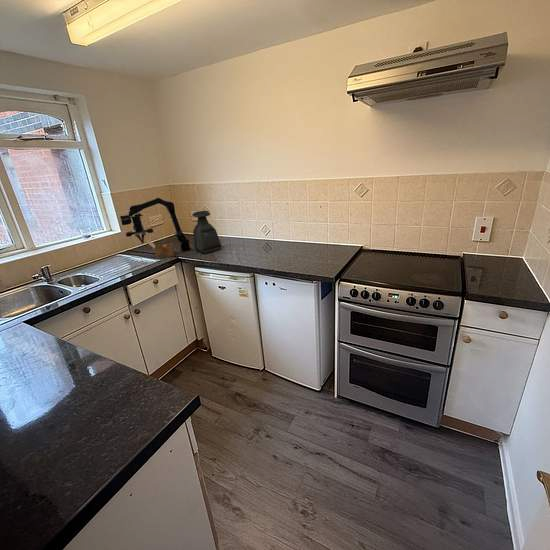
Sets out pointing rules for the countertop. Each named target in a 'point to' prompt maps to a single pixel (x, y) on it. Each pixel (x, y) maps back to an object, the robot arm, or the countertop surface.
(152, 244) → the flap
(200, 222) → the bottle
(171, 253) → the carton
